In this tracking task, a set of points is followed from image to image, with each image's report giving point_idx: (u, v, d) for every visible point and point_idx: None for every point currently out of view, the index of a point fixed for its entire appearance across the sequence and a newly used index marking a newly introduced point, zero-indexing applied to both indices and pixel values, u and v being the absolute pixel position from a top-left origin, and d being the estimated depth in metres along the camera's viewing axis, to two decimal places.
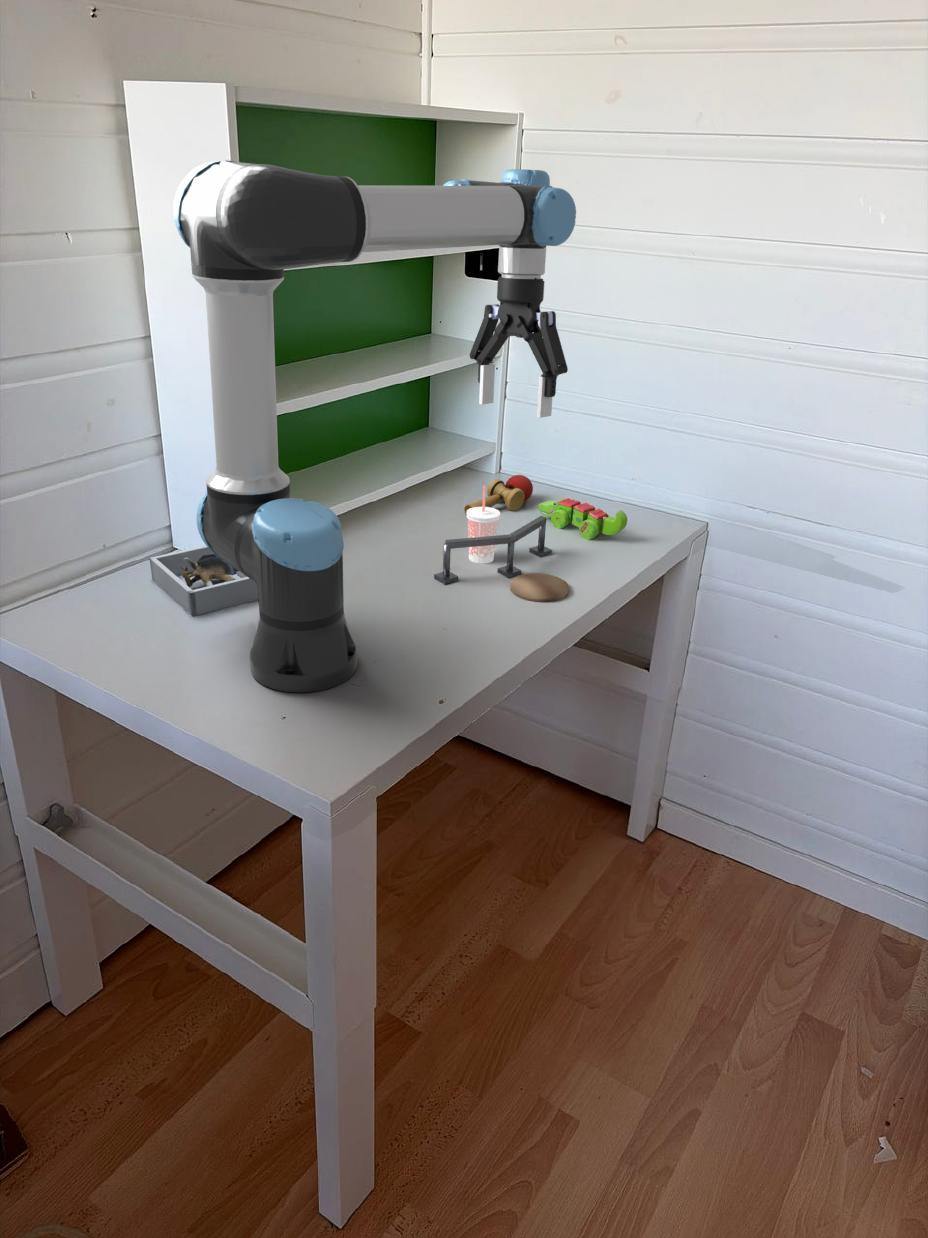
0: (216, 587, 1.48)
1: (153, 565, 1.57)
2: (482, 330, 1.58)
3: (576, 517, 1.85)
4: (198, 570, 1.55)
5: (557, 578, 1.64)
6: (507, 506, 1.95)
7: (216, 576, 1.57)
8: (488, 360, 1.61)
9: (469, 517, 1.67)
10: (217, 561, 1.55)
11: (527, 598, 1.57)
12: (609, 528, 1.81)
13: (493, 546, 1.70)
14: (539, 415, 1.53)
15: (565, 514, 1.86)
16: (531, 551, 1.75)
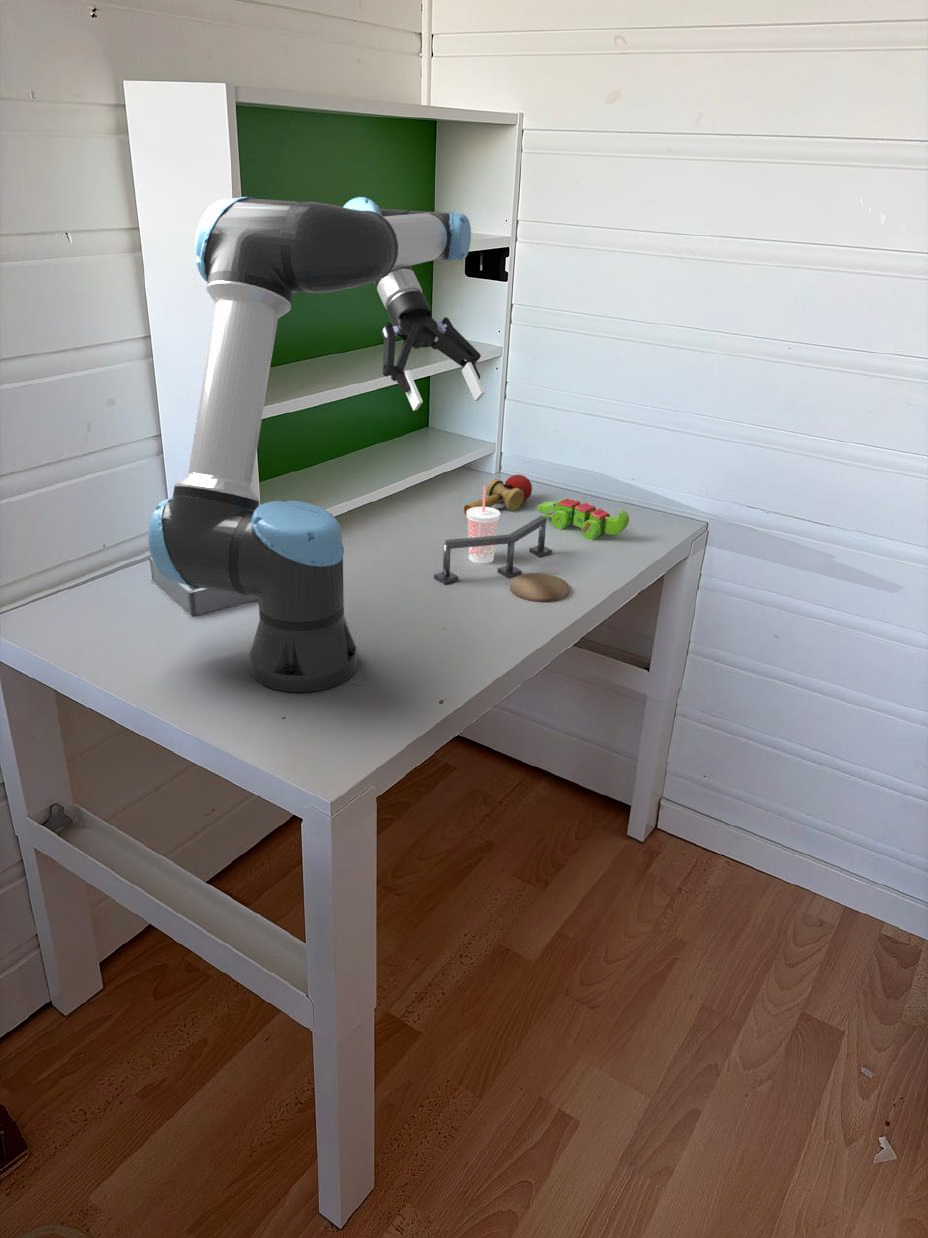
0: None
1: (153, 565, 1.57)
2: (392, 343, 1.66)
3: (577, 517, 1.85)
4: None
5: (557, 578, 1.64)
6: (506, 506, 1.94)
7: None
8: None
9: (469, 517, 1.67)
10: None
11: (527, 598, 1.57)
12: (612, 528, 1.81)
13: (493, 546, 1.70)
14: (483, 391, 1.71)
15: (566, 515, 1.86)
16: (531, 551, 1.75)
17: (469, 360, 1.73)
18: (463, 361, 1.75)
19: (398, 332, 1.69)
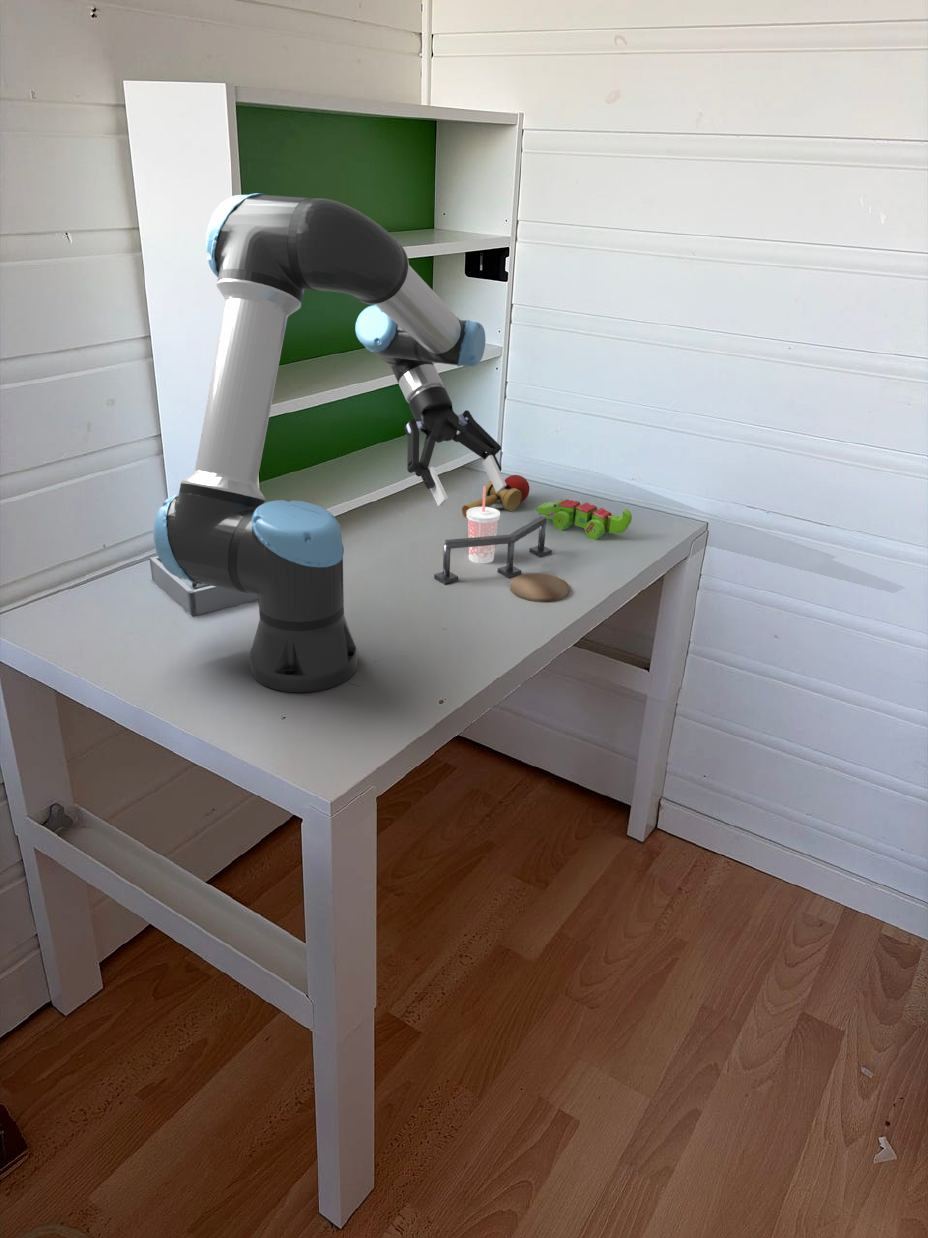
0: (216, 587, 1.48)
1: (153, 565, 1.57)
2: (416, 440, 1.68)
3: (579, 518, 1.85)
4: None
5: (557, 578, 1.64)
6: (504, 506, 1.94)
7: None
8: None
9: (469, 517, 1.67)
10: None
11: (527, 598, 1.57)
12: (616, 527, 1.82)
13: (493, 546, 1.70)
14: (505, 483, 1.74)
15: (568, 515, 1.85)
16: (531, 551, 1.75)
17: (490, 453, 1.76)
18: (484, 453, 1.77)
19: (421, 427, 1.72)
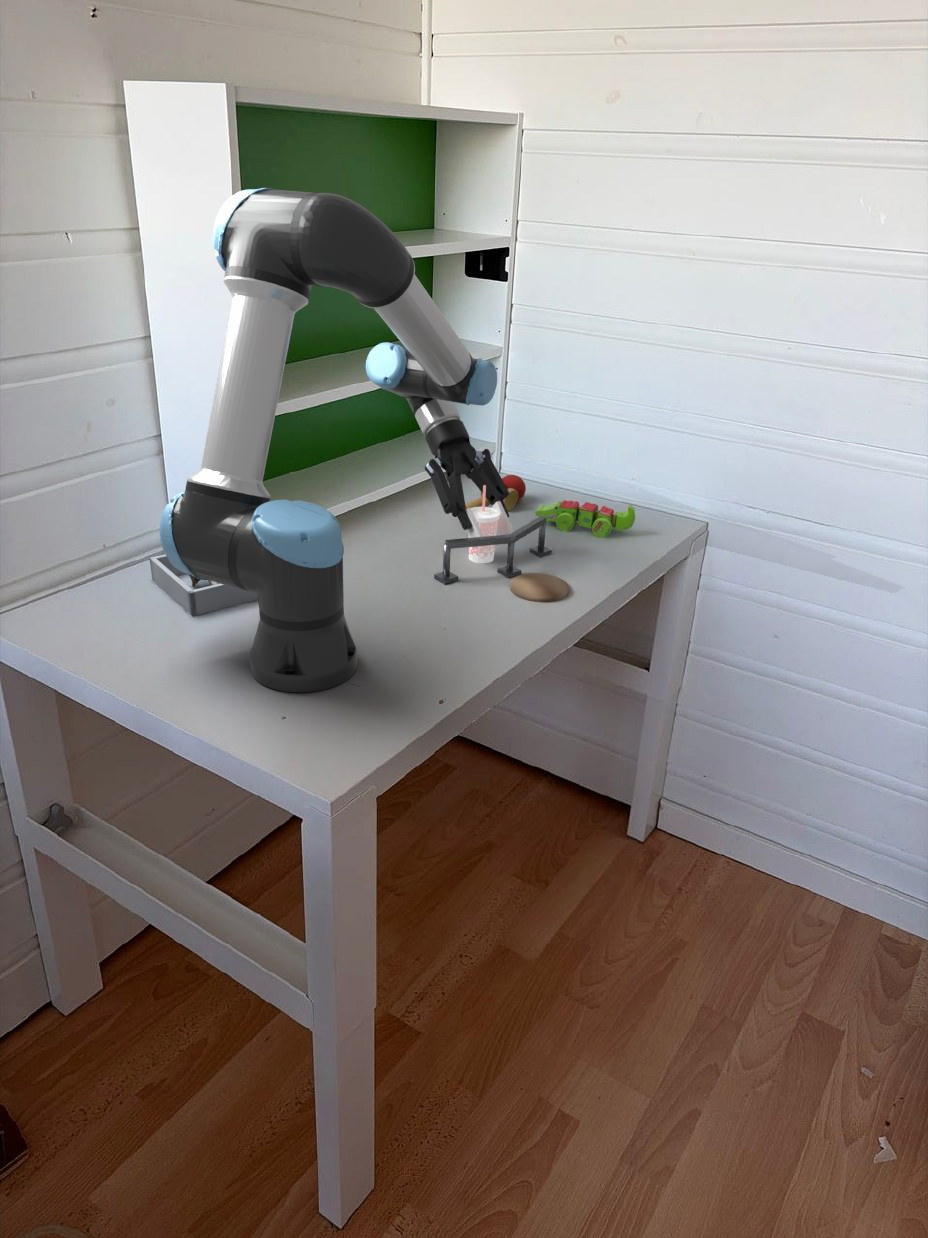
0: (216, 587, 1.48)
1: (153, 565, 1.57)
2: (443, 480, 1.66)
3: (583, 517, 1.85)
4: None
5: (557, 578, 1.64)
6: None
7: None
8: None
9: None
10: None
11: (527, 598, 1.57)
12: (622, 523, 1.84)
13: (493, 546, 1.70)
14: (513, 531, 1.69)
15: (572, 516, 1.85)
16: (531, 551, 1.75)
17: (497, 498, 1.70)
18: (492, 498, 1.72)
19: (440, 463, 1.68)
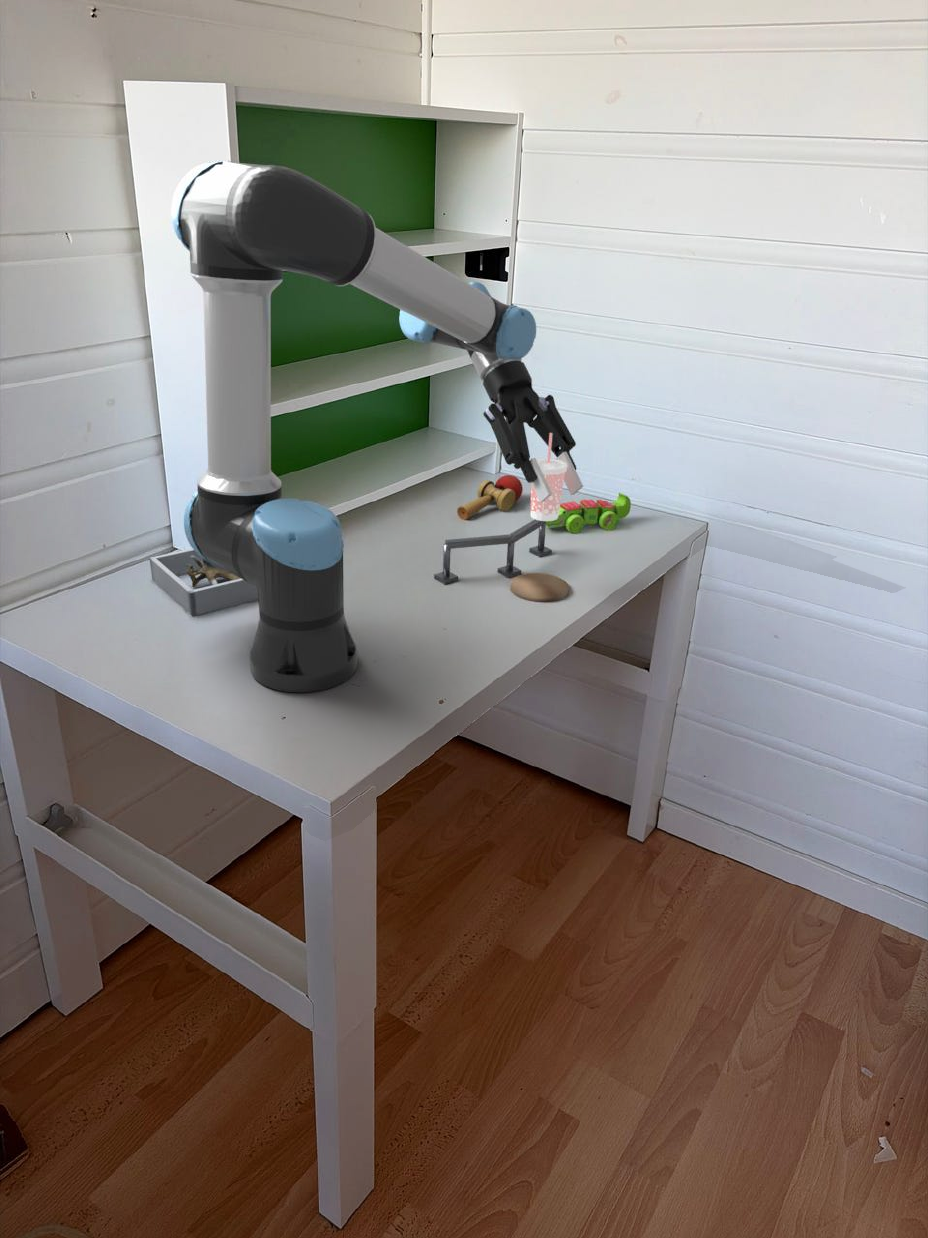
0: (216, 587, 1.48)
1: (153, 565, 1.57)
2: (505, 426, 1.49)
3: (589, 515, 1.86)
4: (203, 568, 1.56)
5: (557, 578, 1.64)
6: (499, 507, 1.94)
7: (221, 575, 1.57)
8: None
9: None
10: None
11: (527, 598, 1.57)
12: (622, 512, 1.89)
13: (559, 502, 1.53)
14: (581, 484, 1.52)
15: (581, 517, 1.85)
16: (531, 551, 1.75)
17: (563, 448, 1.53)
18: (557, 449, 1.55)
19: (500, 408, 1.51)
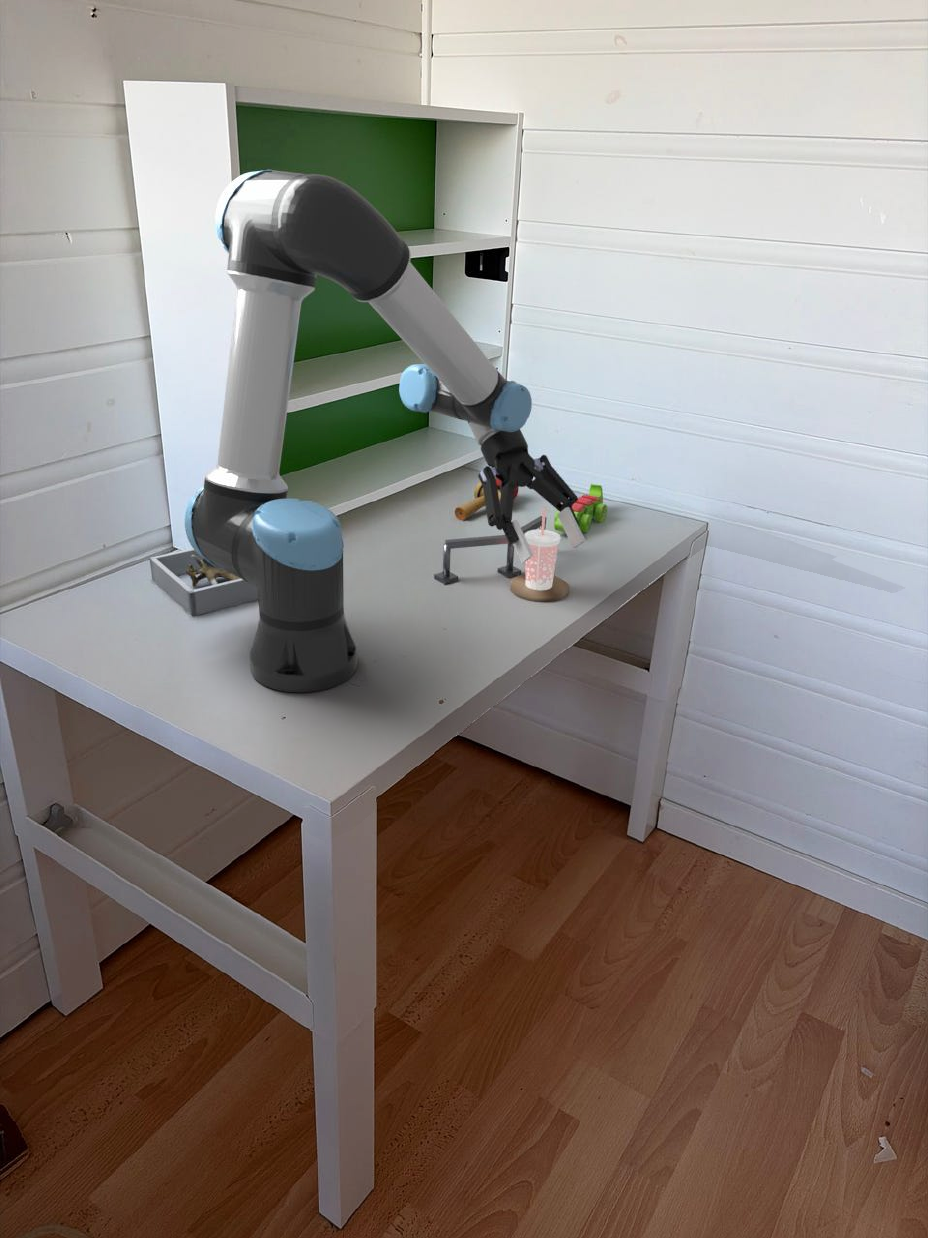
0: (216, 587, 1.48)
1: (153, 565, 1.57)
2: (494, 490, 1.53)
3: (588, 512, 1.88)
4: (203, 568, 1.56)
5: (557, 578, 1.64)
6: None
7: (221, 575, 1.57)
8: None
9: (527, 541, 1.56)
10: None
11: (527, 598, 1.57)
12: (601, 501, 1.94)
13: (552, 572, 1.58)
14: (583, 539, 1.58)
15: None
16: None
17: (566, 504, 1.59)
18: (559, 504, 1.61)
19: (496, 473, 1.56)
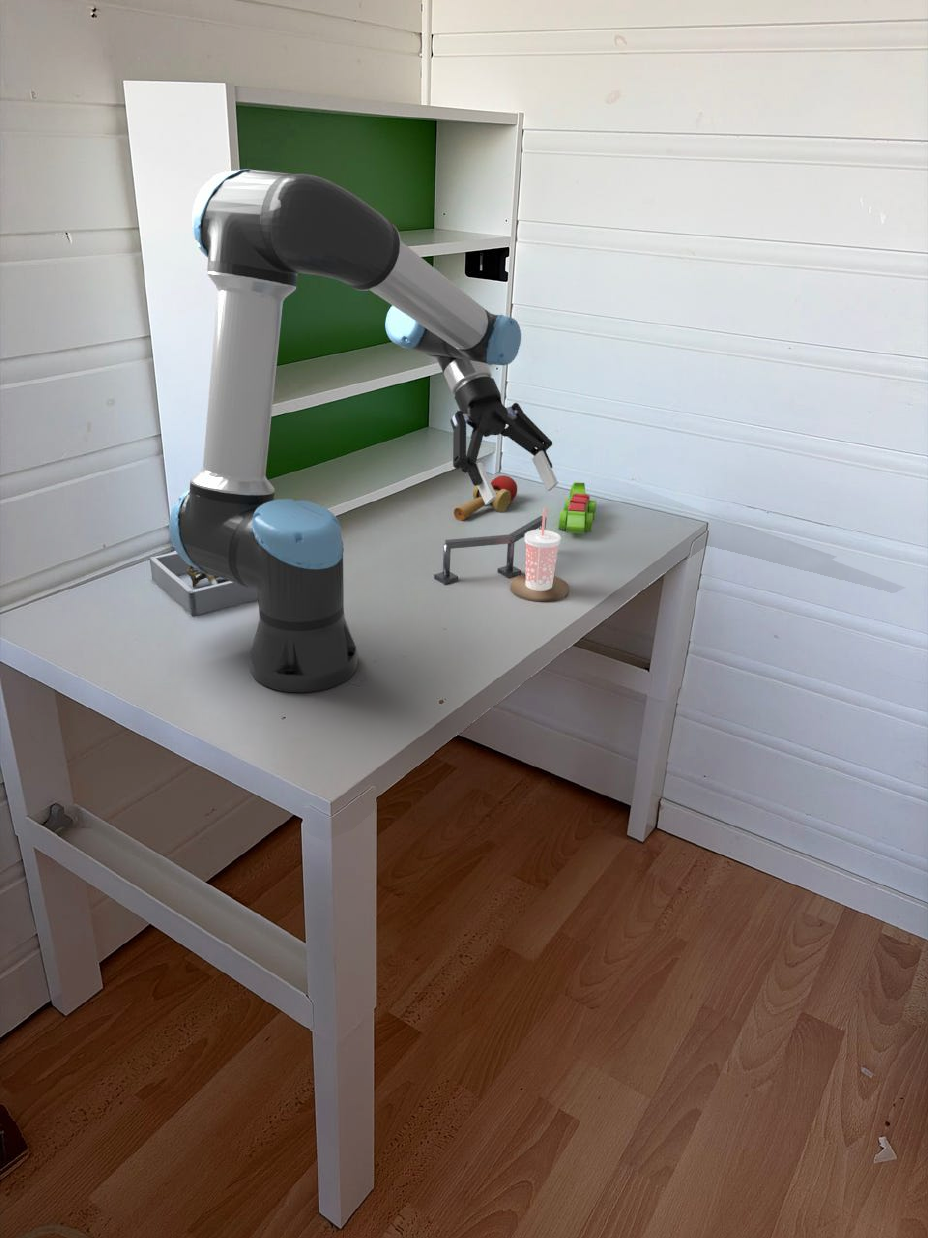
0: (216, 587, 1.48)
1: (153, 565, 1.57)
2: (463, 433, 1.57)
3: (586, 510, 1.89)
4: None
5: (557, 578, 1.64)
6: (495, 507, 1.94)
7: None
8: None
9: (528, 541, 1.55)
10: None
11: (527, 598, 1.57)
12: None
13: (552, 572, 1.58)
14: (556, 481, 1.62)
15: None
16: None
17: (541, 448, 1.64)
18: (533, 449, 1.65)
19: (468, 420, 1.60)
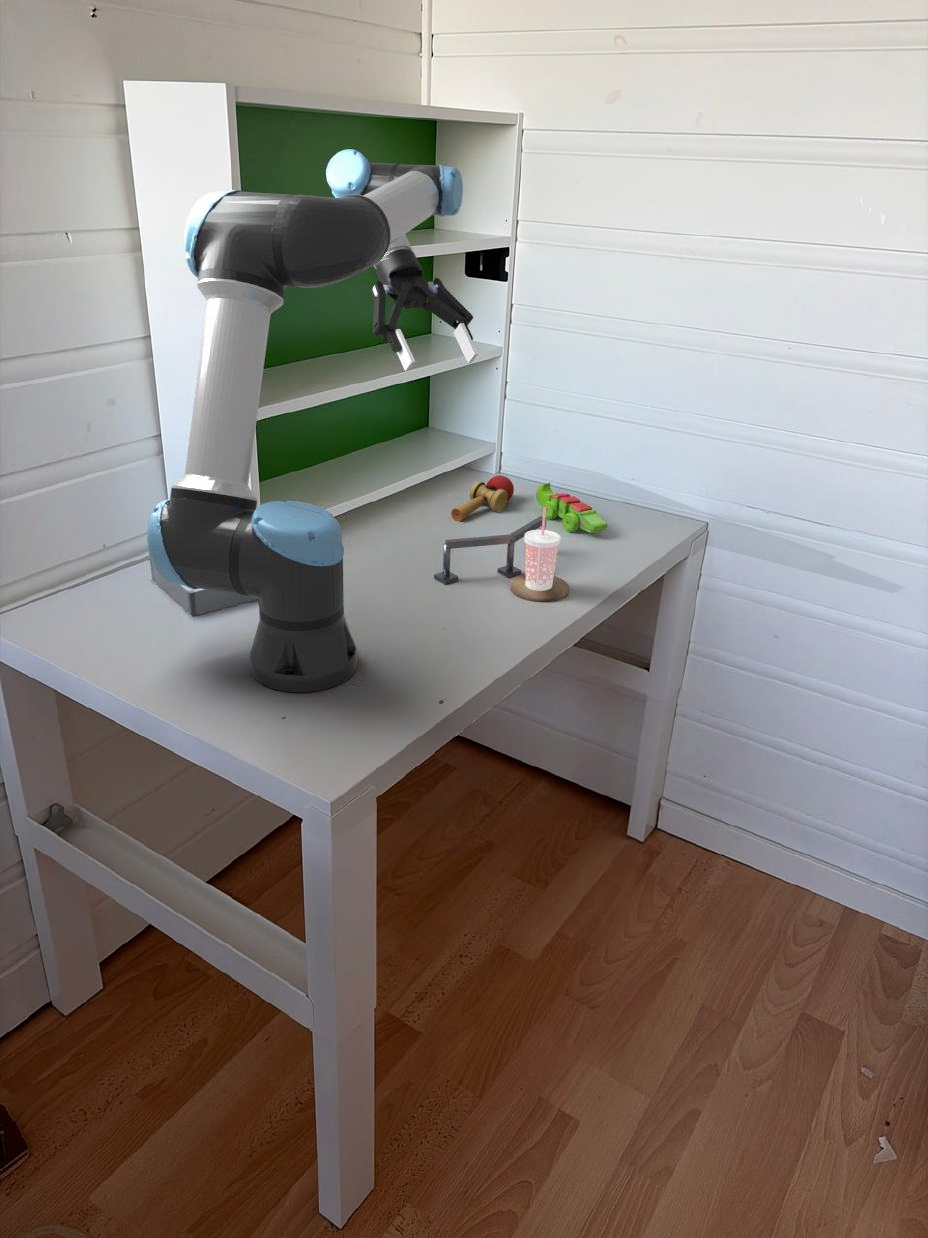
0: None
1: (153, 565, 1.57)
2: (382, 301, 1.61)
3: None
4: None
5: (557, 578, 1.64)
6: (492, 507, 1.93)
7: None
8: None
9: (528, 541, 1.55)
10: None
11: (527, 598, 1.57)
12: None
13: (552, 572, 1.58)
14: (476, 352, 1.66)
15: None
16: None
17: (461, 321, 1.68)
18: (455, 323, 1.70)
19: (388, 291, 1.64)
